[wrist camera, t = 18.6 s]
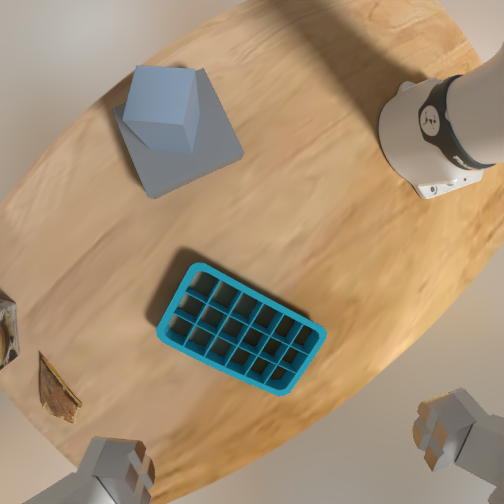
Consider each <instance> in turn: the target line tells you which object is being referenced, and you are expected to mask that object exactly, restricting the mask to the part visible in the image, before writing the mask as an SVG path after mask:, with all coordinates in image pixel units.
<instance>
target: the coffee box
mask: <svg viewBox="0 0 504 504" xmlns="http://www.w3.org/2000/svg"><path fill="white" fill-rule="evenodd" d="M19 355H20V349H19V340H18V329H17V315H16V303H14V302H10V301H6V300H3V299H0V370H1V369H2V368H4V367H5V366H6V365H7V364H8V363H10V362H11V361H12V360H14V359H15V358H16V357H17V356H19Z"/></svg>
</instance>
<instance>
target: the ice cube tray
mask: <svg viewBox="0 0 504 504" xmlns="http://www.w3.org/2000/svg"><path fill="white" fill-rule="evenodd" d="M198 271H203V272H207V273H209V274H211V275H212V276H214V277H216V278H218V280H217V282H216V283H215V285H214V287H213V289H212V290H211V292H210V294H209V296H208V297H205V296H203V295H201V294H199V293H198V292H196V291H194V290H192V289H190V288H189V285H190V284H191V282H192V280H193V278H194V276H195V275H196V273H197V272H198ZM221 281H223V282H225V283H227V284H229V285H231V286H232V287H234V288H236V289H238V291H237V293H236V295H235V297H234V298H233V300H232V302H231V303H230V305H229V307H228V309H227V308H225V307H224V306H222V305H220V304H218V303H216V302H214V301H212V300H211V298H212V296H213V295H214V293H215V291H216V289H217V288H218V286H219V284H220V282H221ZM243 292H244V293H245V294H247V295H249V296H251V297H253V298H255V299H257V300H258V302H257V304H256V305H255V307H254V309H253V310H252V312H251V314H250V315H249V317H248V319H247V318H245V317H243V316H241V315H239V314H237V313H235V312H233V311H232V310H233V309H234V307H235V305H236V304H237V302H238V300H239V299H240V297H241V295H242V293H243ZM185 293H187V294H189V295H191V296H193V297H194V298H196V299H198V300H200V301H202V302H204V305H203V306H202V308H201V310H200V312H199V313H198V315H197V317H194V316H192V315H190V314H189V313H187V312H185V311H183V310H181V309H179V308H178V306H179V304H180V302H181V300H182V298H183V296H184V295H185ZM264 304H266V305H268V306H270V307H272V308H273V309H275V310H277V313H276V314H275V316H274V317H273V319H272V321H271V322H270V324H269V326H268V327H267V329H266V328H264V327H262V326H260V325H258V324H256V323H254V322H253V321H254V320H255V318H256V317H257V315H258V313H259V312H260V310H261V308H262V307H263V305H264ZM207 305H209V306H211V307H213V308H215V309H217V310H219V311H220V312H222V313H224V315H223V317H222V319H221V321H220V322H219V324H218V326H217V327H216V328H215V327H213V326H211V325H209V324H208V323H206V322H204V321H202V320H200V317H201V316H202V314H203V312H204V310H205V309H206V307H207ZM174 314H175V315H177V316H179V317H181V318H183V319H185V320H186V321H188V322H190V323H192V326H191V328H190V329H189V331H188V333H187V335H186V336H185V337H183V336H181V335H179V334H177V333H175V332H174V331H173V330H171V329H170V327H169V322H170V320H171V319H172V317H173V315H174ZM284 314H285V315H287V316H289V317H291V318H293V319H294V320H296V321H295V323H294V325H293V326H292V328H291V329H290V331H289V332H288V334H287V336H286V337H285V338H284V337H282V336H280V335H278V334H276V333H274V331H275V329H276V327H277V326H278V324H279V323H280V321H281V319H282V318H283V316H284ZM229 316H230V317H232V318H234V319H236V320H238V321H240V322H242V323H244V325H243V327H242V329H241V330H240V332H239V333H238V335H237V337H236V338H235V337H233V336H231V335H229V334H227V333H225V332H223V331H221V329H222V327H223V326H224V324H225V322H226V321H227V319H228V317H229ZM303 325H306V326H308V327H310V328H312V332H311V334H310V336H309V337H308V339H307V340H306V342H305V343H304V345H303V346H301V345H298V344H296V343H294V342H293V341H294V339H295V338H296V336H297V335H298V333H299V331H300V330H301V328H302V327H303ZM195 326H198V327H200V328H202V329H204V330H205V331H207V332H209V333H211V334H212V336H211V338H210V339H209V341H208V343H207V344H206V346H205V348H204V347H202V346H200V345H198V344H196V343H194V342H192V341H190V340H188V339H189V337H190V335H191V333H192V331H193V330H194V328H195ZM250 327H251V328H253V329H255V330H257V331H259V332H261V333H263V335H262V337H261V338H260V340H259V342H258V343H257V345H256V346H255V347H253V346H251V345H249V344H247V343H245V342H243V341H242V339H243V338H244V336H245V335H246V333H247V331H248V330H249V328H250ZM156 332H157V337H158V338H159V339H160V340H161V341H162V342H163V343H165V344H167V345H169V346H171V347H173V348H175V349H177V350H179V351H181V352H183V353H185V354H187V355H189V356H191V357H193V358H195V359H197V360H199V361H201V362H203V363H205V364H207V365H209V366H211V367H213V368H215V369H217V370H220V371H222V372H224V373H226V374H228V375H230V376H233V377H235V378H237V379H239V380H242V381H244V382H246V383H248V384H251V385H253V386H255V387H258V388H260V389H262V390H265V391H267V392H270V393H272V394H275V395H277V396H285V395H286V394H288V393H290V392H291V390H292V389H293V387H294V386H295V384H296V383H297V382H298V380H299V379H300V377H301V376H302V374H303V373H304V372H305V370H306V369H307V367H308V366H309V364H310V363H311V361H312V360H313V358H314V357H315V355H316V354H317V352H318V351H319V349H320V348H321V346H322V344H323V343H324V341H325V340H326V336H327V332H326V330H325V328H324V327H322V326H320V325H318V324H316V323H315V322H313V321H311V320H309V319H307V318H305V317H303V316H301V315H299V314H297V313H296V312H294V311H292V310H290V309H288V308H286V307H284V306H282V305H281V304H279V303H277V302H275V301H273V300H271V299H269V298H267V297H266V296H264V295H262V294H260V293H258V292H256V291H255V290H253V289H251V288H249V287H247V286H245V285H244V284H242V283H240V282H238V281H236V280H234V279H233V278H231V277H229V276H227V275H225V274H224V273H222V272H220V271H218V270H216V269H215V268H213V267H211V266H209V265H207V264H206V263H200V262H196V263H194V264H193V265H191V266H190V267H189V269H188V271H187V273H186V275H185V277H184V278H183V280H182V282H181V284H180V286H179V288H178V289H177V291H176V293H175V295H174V297H173V299H172V301H171V302H170V304H169V306H168V308H167V310H166V312H165V314H164V316H163V318H162V319H161V321H160V323H159V325H158V327H157V329H156ZM217 337H219V338H221V339H223V340H225V341H227V342H229V343H231V344H232V345H231V347H230V348H229V350H228V351H227V353H226V355H225V356H224V357H222V356H220V355H218V354H216V353H214V352H212V351H210V350H209V349H210V348H211V346H212V344H213V343H214V341H215V339H216V338H217ZM270 337H271V338H273V339H276V340H278V341H280V342H282V344H281V345H280V347H279V348H278V350H277V351H276V353H275V354H274V356H272V355H270V354H268V353H266V352H264V351H262V350H263V348H264V347H265V345H266V343H267V342H268V340H269V339H270ZM238 347H239V348H241V349H244V350H246V351H248V352H250V353H251V354H250V356H249V357H248V359H247V361H246V362H245V364H244V365H243V366H241V365H239V364H237V363H235V362H233V361H231V360H230V359H231V357H232V356H233V354H234V352H235V351H236V349H237V348H238ZM289 347H292V348H294V349H296V350H298V351H299V353H298V354H297V356H296V357H295V359H294V360H293V362H292V363H291V364H290V363H287V362H285V361H283V360H281V359H282V358H283V356H284V355H285V353H286V352H287V350H288V349H289ZM257 357H260V358H263V359H265V360H267V361H269V364H268V365H267V367H266V368H265V370H264V371H263V373H262V374H259V373H257V372H255V371H252V370H250V368H251V367H252V365H253V364H254V362H255V361H256V359H257ZM277 365H278V366H280V367H282V368H284V369H287V371H286V372H285V374H284V375H283V376H282V378H281V379H278V380H273V379H270V378H269V377H270V376H271V374H272V373H273V371H274V370H275V368H276V367H277Z"/></svg>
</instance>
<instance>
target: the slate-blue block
mask: <svg viewBox="0 0 504 504" xmlns="http://www.w3.org/2000/svg"><path fill="white" fill-rule="evenodd" d="M199 115H200V110H199V101H198V92H197V83H196V74H195V69H187V68H174V67H159V66H136V69H135V72H134V76H133V80H132V83H131V87H130V91H129V95H128V99H127V103H126V107H125V111H124V115H123V121H124V122H125V123H126V124H127V125H128V127H129V128H130V129H131V130H132V131H133V132H134V133H135V134H136V135H137V136H138V137H139V138H140V139H141V140H142V141H143V142H144V143H145V144H146V145H147V146H148V148H149V149H154V150H164V151H173V152H182V153H191V154H193V148H194V142H195V136H196V131H197V126H198V120H199Z"/></svg>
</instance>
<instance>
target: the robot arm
mask: <svg viewBox="0 0 504 504" xmlns="http://www.w3.org/2000/svg"><path fill="white" fill-rule="evenodd" d="M379 138H380V142H381V146H382V149H383V152H384V154H385V156H386V158H387V160H388V161H389V163H390V164H391V166H392V167H393V168H394V170H395V171H396V172H397V173H398V174H399V175H401V176H402V177H403V178H404V179H406V180H407V181H409V182H410V183H411V184H412V185H413V187H414V188H415V190H416V191H417V193H418V194H419V196H420V197H421V198H422V199H430V198H433V197H435V196H438V195H441V194H444V193H447V192H449V191H452V190H455V189H458V188H460V187H463V186H466V185H469V184H471V183H474V182H477V181H479V180H481V179H482V176H483V171H484V170H486V169H489V168H491V167H492V166H494V165H495V164H496V163H503V162H504V42H503V44H502V46H501V48H500V50H499V51H498V52H497V53H496V55H495V56H494V57H492V58H491V59H490V60H489V61H487V62H486V63H484V64H483V65H481V66H479V67H478V68H476V69H474V70H472V71H471V72H469V73H467V74H465V75H455V76H452V77H448V78H446V79H444V80H442V81H441V80H438V79H437V78H430V79H427V80H425V81H423V82H420V83H418V84H415V83H413V82H410V81H406V82H403V83H402V84H401V85H400V87H399V89H398V92H397V94H396V96H395V97H393V98H392V99H391V100H390V101H389V102H388V103H387V104H386V105H385V106H384V108H383V110H382V112H381V115H380V119H379ZM431 188H432V191H431ZM417 412H418V414H419V415H420V416H419V417H418V418H417V420H416V421H415V422H414V426H413V438H414V441H415V444H416V445H417V447H418V449H421V450H423V451H425V456H424V459H425V461H426V462H427V464H428V466H429V467H430V469H431V471H432V472H434V471H436V470H439V469H442V468H444V467H446V466H449V465H451V464H454V463H455V465H457V466H459V467H461V468H463V469H465V470H467V471H468V472H470V473H472V474H474V475H476V476H478V477H480V478H481V479H483V480H485V481H487V482H489V483H491V484H493V485H495V486H497V487H496V488H495V489H494V491H493V492H492V494H491V495H490V496H489V499H488V502H489V504H504V418H503V417H500V416H496V415H490V416H489V415H488V414H487V413H486V412H485V411H484V410H483V408H482V407H481V406H480V405H479V404H478V403H477V402H476V401H475V400H474V398H472V396H471V395H470V394H469V393H468V392H467V391H466V390H465V389H463V388H459V389H456V390H454V391H451V392H449V393H446V394H443V395H440V396H438V397H435V398H432V399H430V400H427V401H424V402H422V403H421V404H420V405H419V407H418V411H417ZM145 451H146V447H145V445H144V443H143V442H142V441H139V440H127V439H117V438H106V437H98V436H95V437H94V438H92V440H91V442H90V444H89V446H88V448H87V450H86V452H85V454H84V457H83V459H82V461H81V463H80V465H79V468H78V470H77V472H76V473H71V474H69V475H67V476H66V477H64V478H63V479H61V480H60V481H58V482H57V483H55V484H53V485H52V486H50V487H49V488H47V489H46V490H44V491H42V492H41V493H39V494H37V495H36V496H34V497H32V498H31V499H29V500H28V501H26V502H24V503H23V504H150V500H151V495H150V493H149V492H148V490H149V489H150V488H151V487H152V486H153V485H154V481H155V468H154V464H153V461H152V459H151V458H150V457H149V456H147V455H146V454H145Z"/></svg>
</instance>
